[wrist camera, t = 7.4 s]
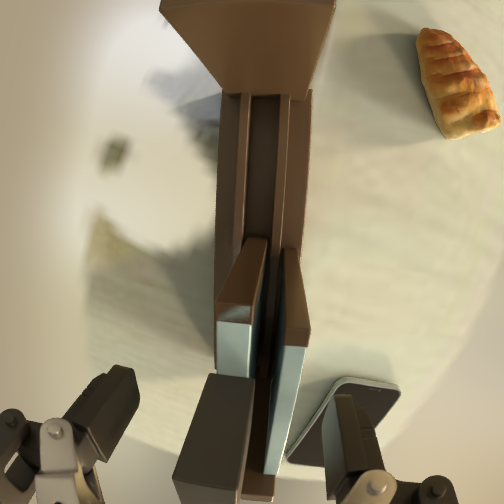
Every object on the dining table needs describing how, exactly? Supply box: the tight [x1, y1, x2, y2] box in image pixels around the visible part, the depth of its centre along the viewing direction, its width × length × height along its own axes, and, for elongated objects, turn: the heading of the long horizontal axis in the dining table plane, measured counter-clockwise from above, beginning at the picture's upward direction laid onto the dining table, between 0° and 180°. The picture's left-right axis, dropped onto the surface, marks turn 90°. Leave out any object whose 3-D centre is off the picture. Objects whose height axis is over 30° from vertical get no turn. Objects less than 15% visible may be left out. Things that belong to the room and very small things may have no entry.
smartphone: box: [286, 377, 401, 468], centre depth 25 cm, size 7×1×15 cm
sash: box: [172, 236, 268, 504], centre depth 13 cm, size 2×9×15 cm, turn 177°
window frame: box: [159, 0, 336, 502], centre depth 15 cm, size 6×22×14 cm, turn 177°
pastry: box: [415, 28, 501, 140], centre depth 14 cm, size 9×7×4 cm
